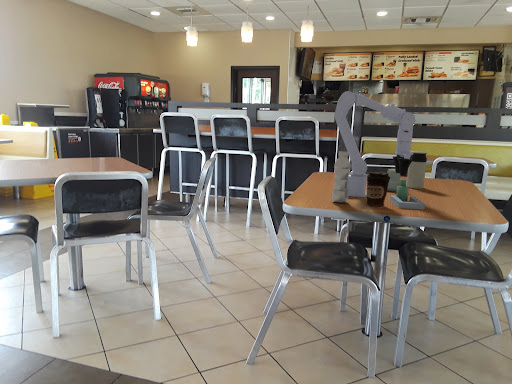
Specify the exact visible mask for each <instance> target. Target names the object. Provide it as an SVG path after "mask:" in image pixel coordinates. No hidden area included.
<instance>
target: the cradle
mask: <svg viewBox="0 0 512 384" xmlns="http://www.w3.org/2000/svg"><path fill="white" fill-rule="evenodd" d="M408 199H409V200H408V201H401V200H400V199H399V198H398V197H397V195H395V194H394V195H393V194H391V195H390V198H389V201H390V202H391V203H392V204H394V205H395V206H396V207H397V208H398V209H406V210H407V209H409V210H410V209H411V210H425V208H426V203H424V202H423V201H422V200H420V199H419V198H417V197H416V196H413V195H410V196H409V197H408Z"/></svg>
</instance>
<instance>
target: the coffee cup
mask: <svg viewBox="0 0 512 384" xmlns="http://www.w3.org/2000/svg"><path fill="white" fill-rule="evenodd" d="M388 175H389V173H388V172H383V171H380V172H379V171H378V172H377V171H374V172H373V171H369V172H368V174H367V181H366V195H367V197H366V206H368V207H371V208H385V199H386V197H387V195H388V191H387V189H388V184H389V181H390V176H388Z"/></svg>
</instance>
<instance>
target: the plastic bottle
mask: <svg viewBox="0 0 512 384" xmlns="http://www.w3.org/2000/svg"><path fill="white" fill-rule="evenodd" d="M351 164H352V162H351V160H349V154H348V151H347V150H339V151H338V158H337V159H336V160H335V163H334V167H333V168H334V170H333V171H334V183H333V188H332V189H333V190H332V193H331V199H332V201H333V202H335V203H347V201H348V200H349V197H350V196H349V195H348V179H349V174H350V172H351V169H352V167H351Z"/></svg>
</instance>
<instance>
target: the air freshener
mask: <svg viewBox="0 0 512 384" xmlns="http://www.w3.org/2000/svg"><path fill="white" fill-rule="evenodd" d="M387 173H389V175H388V176H390V181H389V184H388V189H387V192H392V193H397V186H400V182H401V180H400V179H401V175H400V173H396V171H395V168H388V169H387Z"/></svg>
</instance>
